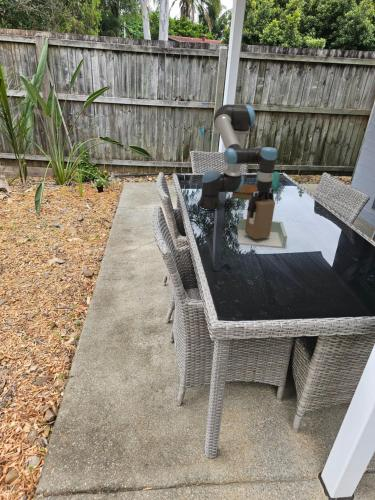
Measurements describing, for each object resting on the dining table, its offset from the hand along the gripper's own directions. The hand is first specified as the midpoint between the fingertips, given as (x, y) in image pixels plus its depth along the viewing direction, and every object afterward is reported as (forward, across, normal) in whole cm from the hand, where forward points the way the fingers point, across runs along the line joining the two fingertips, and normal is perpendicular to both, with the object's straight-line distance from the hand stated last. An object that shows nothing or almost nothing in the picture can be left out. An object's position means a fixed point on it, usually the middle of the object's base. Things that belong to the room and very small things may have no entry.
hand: (258, 221), depth 172 cm
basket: (+11, +84, +64) cm, 106 cm away
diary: (+11, +54, +60) cm, 82 cm away
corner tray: (+10, +2, -1) cm, 10 cm away
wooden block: (+8, 0, 0) cm, 8 cm away
